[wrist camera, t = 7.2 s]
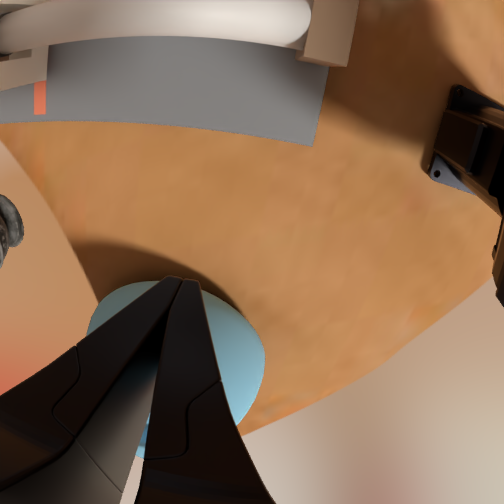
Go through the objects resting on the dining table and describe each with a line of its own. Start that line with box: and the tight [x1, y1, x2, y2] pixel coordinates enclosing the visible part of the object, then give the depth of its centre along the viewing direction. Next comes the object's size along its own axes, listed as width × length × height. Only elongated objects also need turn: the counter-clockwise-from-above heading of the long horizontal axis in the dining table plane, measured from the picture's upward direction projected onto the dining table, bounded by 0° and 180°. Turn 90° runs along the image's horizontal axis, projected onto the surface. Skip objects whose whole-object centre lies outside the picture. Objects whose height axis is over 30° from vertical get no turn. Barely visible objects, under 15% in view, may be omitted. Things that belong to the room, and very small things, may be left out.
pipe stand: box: [0, 0, 359, 147], centre depth 11 cm, size 22×12×6 cm, turn 81°
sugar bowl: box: [86, 281, 265, 459], centre depth 22 cm, size 15×15×12 cm
